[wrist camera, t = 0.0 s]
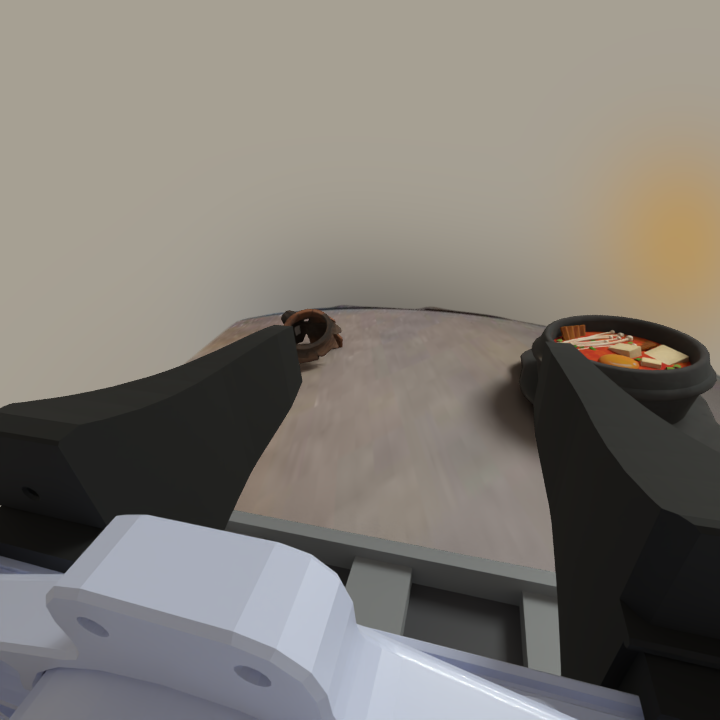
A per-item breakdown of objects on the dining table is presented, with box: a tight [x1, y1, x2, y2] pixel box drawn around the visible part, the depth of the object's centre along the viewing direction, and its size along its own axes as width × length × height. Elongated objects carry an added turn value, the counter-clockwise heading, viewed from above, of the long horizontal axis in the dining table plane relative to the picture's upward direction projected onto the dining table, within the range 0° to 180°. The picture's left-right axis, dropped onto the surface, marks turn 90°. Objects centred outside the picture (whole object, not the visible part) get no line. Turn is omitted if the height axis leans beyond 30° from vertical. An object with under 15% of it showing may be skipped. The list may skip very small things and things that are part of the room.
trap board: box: [224, 510, 561, 676], centre depth 21 cm, size 18×36×4 cm, turn 75°
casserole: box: [519, 315, 720, 453], centre depth 45 cm, size 25×19×8 cm
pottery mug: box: [281, 309, 343, 363], centre depth 62 cm, size 12×10×8 cm
